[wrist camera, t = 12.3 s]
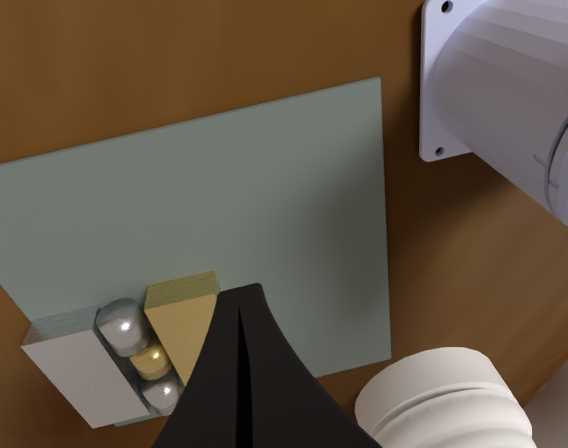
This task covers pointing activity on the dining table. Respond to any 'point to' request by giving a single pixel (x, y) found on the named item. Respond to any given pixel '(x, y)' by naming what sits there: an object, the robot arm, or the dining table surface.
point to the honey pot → (442, 404)
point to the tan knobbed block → (177, 324)
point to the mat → (218, 220)
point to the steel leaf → (101, 362)
